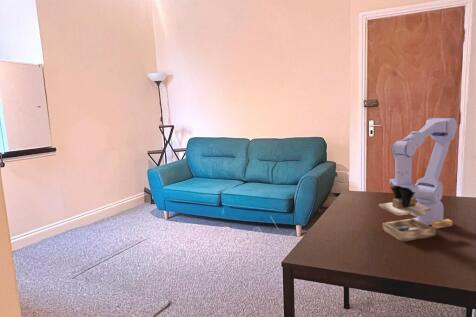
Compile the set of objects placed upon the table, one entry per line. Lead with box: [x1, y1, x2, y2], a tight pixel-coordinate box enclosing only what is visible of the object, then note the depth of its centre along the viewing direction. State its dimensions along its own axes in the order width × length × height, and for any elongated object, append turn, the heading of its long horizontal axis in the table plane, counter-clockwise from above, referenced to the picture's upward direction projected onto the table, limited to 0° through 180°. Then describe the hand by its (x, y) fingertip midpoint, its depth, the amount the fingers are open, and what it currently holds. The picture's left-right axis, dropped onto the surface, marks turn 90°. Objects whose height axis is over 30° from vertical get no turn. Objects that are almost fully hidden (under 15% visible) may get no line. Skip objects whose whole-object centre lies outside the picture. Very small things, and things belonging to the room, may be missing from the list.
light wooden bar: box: [431, 218, 453, 229], centre depth 126 cm, size 7×2×2 cm, turn 101°
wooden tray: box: [382, 217, 436, 242], centre depth 133 cm, size 14×12×3 cm
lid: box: [378, 196, 431, 217], centre depth 133 cm, size 14×15×4 cm
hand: (402, 205), depth 134 cm, fingers closed on lid, 3 cm apart
